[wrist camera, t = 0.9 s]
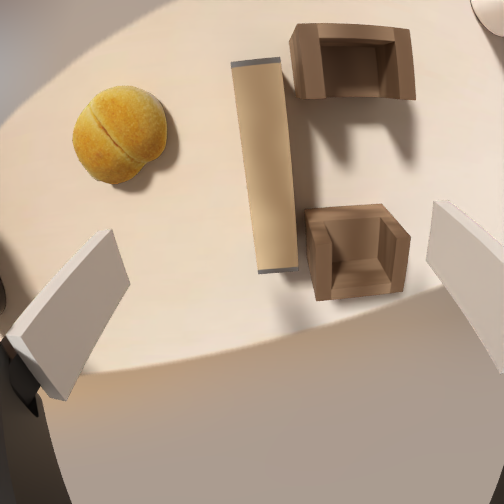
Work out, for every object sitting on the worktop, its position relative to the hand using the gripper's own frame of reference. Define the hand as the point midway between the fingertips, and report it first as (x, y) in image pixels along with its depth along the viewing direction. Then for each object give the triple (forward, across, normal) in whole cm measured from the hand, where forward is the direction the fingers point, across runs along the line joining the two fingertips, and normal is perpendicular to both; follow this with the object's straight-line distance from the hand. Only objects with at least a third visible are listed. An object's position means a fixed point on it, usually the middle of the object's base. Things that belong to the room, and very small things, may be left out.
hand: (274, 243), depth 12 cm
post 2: (+16, +6, -8) cm, 19 cm away
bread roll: (+16, -13, +4) cm, 21 cm away
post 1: (+16, +6, +8) cm, 19 cm away
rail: (+16, 0, 0) cm, 16 cm away
